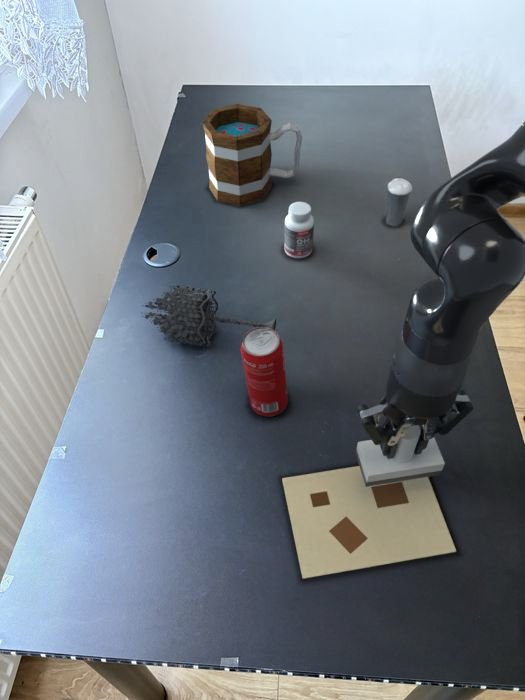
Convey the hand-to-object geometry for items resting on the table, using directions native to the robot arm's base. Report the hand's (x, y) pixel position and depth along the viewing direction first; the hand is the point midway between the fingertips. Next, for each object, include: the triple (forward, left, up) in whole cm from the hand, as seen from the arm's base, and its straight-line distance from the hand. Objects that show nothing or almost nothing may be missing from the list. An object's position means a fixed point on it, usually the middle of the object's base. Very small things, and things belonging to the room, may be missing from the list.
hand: (401, 450), depth 76 cm
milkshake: (-17, -55, -9) cm, 58 cm away
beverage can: (+15, -16, -9) cm, 24 cm away
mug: (+8, -72, -9) cm, 73 cm away
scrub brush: (0, 0, -4) cm, 4 cm away
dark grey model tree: (+22, -31, -9) cm, 39 cm away
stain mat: (+5, +4, -9) cm, 11 cm away
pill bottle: (+3, -50, -9) cm, 51 cm away
